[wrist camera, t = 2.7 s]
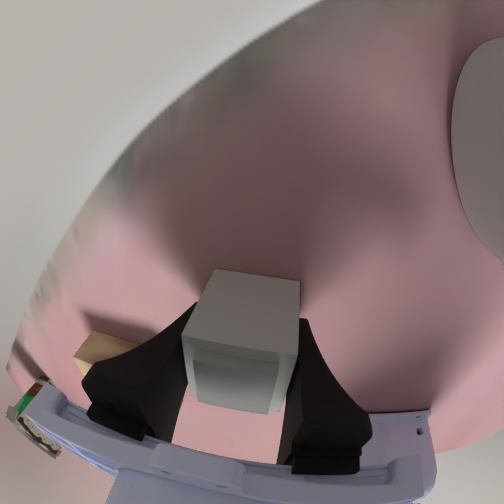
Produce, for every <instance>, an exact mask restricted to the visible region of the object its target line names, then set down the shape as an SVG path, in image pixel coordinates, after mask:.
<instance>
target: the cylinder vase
mask: <svg viewBox="0 0 504 504" xmlns="http://www.w3.org/2000/svg"><path fill="white" fill-rule="evenodd" d="M451 145H452V158H453V167H454V173H455V179H456V184H457V188H458V192H459V196H460V200H461V203H462V206H463V209H464V211H465V214H466V216H467V219H468V221H469V223H470V225H471V227H472V229H473V231H474V232H475V234H476V235H477V237H478V238H479V240H480V241H481V242H482V243H483V245H484V246H485V247H486V248H487V249H488V250H489V251H490V252H491V253H492V254H493V255H494V256H496V257H497V258H498V259H499V260H500V261H501V262H502V263H503V264H504V37H501V38H496V39H492V40H489V41H487V42H485V43H483V44H482V45H480V46H479V47H478V48H477V49H475V51H474V52H473V53H472V54H471V55H470V57H469V58H468V59H467V61H466V63H465V65H464V67H463V69H462V71H461V74H460V76H459V79H458V83H457V86H456V90H455V95H454V101H453V108H452V120H451Z"/></svg>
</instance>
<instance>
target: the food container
mask: <svg viewBox="0 0 504 504" xmlns="http://www.w3.org/2000/svg"><path fill="white" fill-rule="evenodd" d="M45 383H49V384H50V385H52V386H54V387H55V385H54V384H53V382H52V381H51V380H50V379H49V378H47V377H44V376H41V377H40V378H39V379H38V380H37V381H36V382H35V384H34V385H33V386H32V387H31V388H30V389H29V390H28V391H27V392H26V394H25V395H24V396H23V397H22V398H21V399H20V401H19V402H18V403H17V404H16V405H15V406H14V407H11V406H9V407H8V410H7V413H6V414H7V416H6V419H7V420H8V421H9V422H10V423H11V424H12V425H13V426H14V427H15V428H16V429H17V430H18V431H19V432H21V433H22V434H23V435H24V436H25V437H26V438H27V439H29V440H30V441H31V442H32V443H33V444H35V445H36V446H37V447H39V448H40V449H41V450H43V451H44V452H45V453H47V454H48V455H50V456H51V457H53V458H54V459H56V457H58V456H59V455H60V453H61V451H60V448H61V445H59V444H58V443H56V442H55V441H53V440H52V439H50V438H49V437H47V436H46V435H45V434H44V433H43V432H42V431H41V430H40V429H39V428H38V427H37V426H36V425H35V424H34V423H33V422H32V421H31V420H30V419H29V418H28V417H27V416H26V415H25V412H26V410H27V409H28V407H29V406H30V404H31V403H32V401H33V400H34V399H35V397H36V396H37V394H38V393H39V391H40V390H41V388H42V387H43V386H44V384H45ZM55 388H56V387H55Z"/></svg>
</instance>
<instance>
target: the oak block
mask: <svg viewBox="0 0 504 504" xmlns="http://www.w3.org/2000/svg"><path fill="white" fill-rule="evenodd" d="M140 345H141V344H139V343H135V342H132V341H128V340H124V339H120V338H117V337H113V336H110V335H107V334H103V333H100V332H97V331H92V333H91V334H90V335H89V336H88V338H87V339H86V340H85V342H84V343H83V344H82V345H81V347H80V348H79V349H78V351H77V352H76V353H75V355H74V356H73V358H74V360H75V361H76V363H77V365H78V367H79V368H80V370H81V372H82V373H83V375H84V377H85V375H86V374H87V372H88V371H89V369H90V368H91V366H92V365H93V364H94V363H95V362H98V361H102V360H105V359H109V358H112V357H115V356H117V355H120V354H123V353H125V352H127V351H130V350H132V349H134V348H136V347H138V346H140ZM182 402H183V400H182ZM181 405H182V403H181Z"/></svg>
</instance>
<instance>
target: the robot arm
mask: <svg viewBox="0 0 504 504" xmlns="http://www.w3.org/2000/svg"><path fill="white" fill-rule="evenodd" d="M196 304H197V302H195V303H194V304H193V305H192V306H191V307H190V308H189V309H188V310H187V311H186V312H184V313H183V314H182V315H181V316H180V317H179V318H178V319H177V320H175V321H174V322H173V323H172V324H171V325H169V326H168V327H167V328H166V329H164V330H163V331H162V332H160V333H159V334H157V335H156V336H155V337H153V338H152V339H150V340H148V341H147V342H145V343H143V344H141V345H140V346H138V347H136V348H134V349H132V350H130V351H127V352H125V353H123V354H120V355H117V356H115V357H112V358H109V359H105V360H102V361H98V362H95V363H94V364H93V365H92V366H91V368H90V369H89V371H88V372H87V374H86V375H85V377H84V378H83V380H82V381H81V382H82V387H83V389H84V391H85V392H86V394H87V395H88V397H89V399H90V400H91V402H92V404H91V406H90V407H89V409H88V410H86V409H84V408H82V407H80V406H78V405H76V404H74V403H72V402H70V401H69V400H68V398H67V397H66V395H65V394H64V393H63V392H62V391H60V390H59V389H57V388H55V387H54V386H52V385H50V384H49V383H45V384H44V386H43V387H42V388H41V390H40V391H39V393H38V394H37V396H36V397H35V399H34V400H33V401H32V403H31V404H30V406H29V407H28V409H27V410H26V412H25V415H26V416H27V417H28V418H29V419H30V420H31V421H32V422H33V423H34V424H35V425H36V426H37V427H38V428H39V429H40V430H41V431H42V432H43V433H44V434H45V435H46V436H47V437H49V438H50V439H52V440H53V441H55V442H56V443H58V444H59V445H61V446H62V447H64V448H65V449H67V450H69V451H70V452H72V453H74V454H75V455H77V456H78V457H80V458H82V459H83V460H85V461H87V462H88V463H90V464H92V465H94V466H95V467H97V468H99V469H101V470H103V471H105V472H107V473H109V474H110V475H113V476H114V477H116V479H115V482H114V484H113V486H112V489H111V491H110V493H109V496H108V498H107V501H106V503H105V504H414V502H417V501H420V500H422V499H424V498H425V497H426V496H427V495H428V494H429V493H430V492H431V490H432V488H433V486H434V483H435V479H436V473H437V468H436V460H435V454H434V449H433V443H432V438H431V434H430V429H429V424H428V420H427V418H428V417H429V416H430V415H431V411H430V410H426V411H416V412H403V413H385V414H367V413H366V412H365V411H364V410H363V409H362V408H361V407H360V406H358V405H357V404H356V403H355V402H354V401H353V400H352V399H351V398H350V396H349V395H348V394H347V393H346V392H345V390H344V389H343V388H342V387H341V386H340V384H339V383H338V381H337V380H336V379H335V377H334V376H333V374H332V373H331V371H330V370H329V368H328V366H327V364H326V363H325V361H324V359H323V357H322V355H321V353H320V351H319V349H318V346H317V344H316V342H315V339H314V337H313V334H312V331H311V328H310V325H309V322H308V320H307V319H304V318H299V339H298V356H297V360H296V363H295V366H294V369H293V373H292V376H291V379H290V382H289V385H288V389H287V392H286V406H285V413H284V421H283V428H282V434H281V441H280V447H279V452H278V458H277V463H276V464H268V463H259V462H252V461H246V460H240V459H233V458H229V457H224V456H218V455H214V454H209V453H205V452H201V451H197V450H193V449H189V448H185V447H182V446H178V445H175V444H172V443H171V442H172V437H173V433H174V429H175V425H176V421H177V417H178V414H179V410H180V407H181V403H182V400H183V397H184V394H185V390H186V387H187V385H188V378H187V372H186V365H185V359H184V351H183V344H182V336H181V334H182V332H183V330H184V328H185V326H186V324H187V322H188V320H189V318H190V316H191V314H192V312H193V310H194V308H195V306H196ZM418 504H420V503H418Z"/></svg>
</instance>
